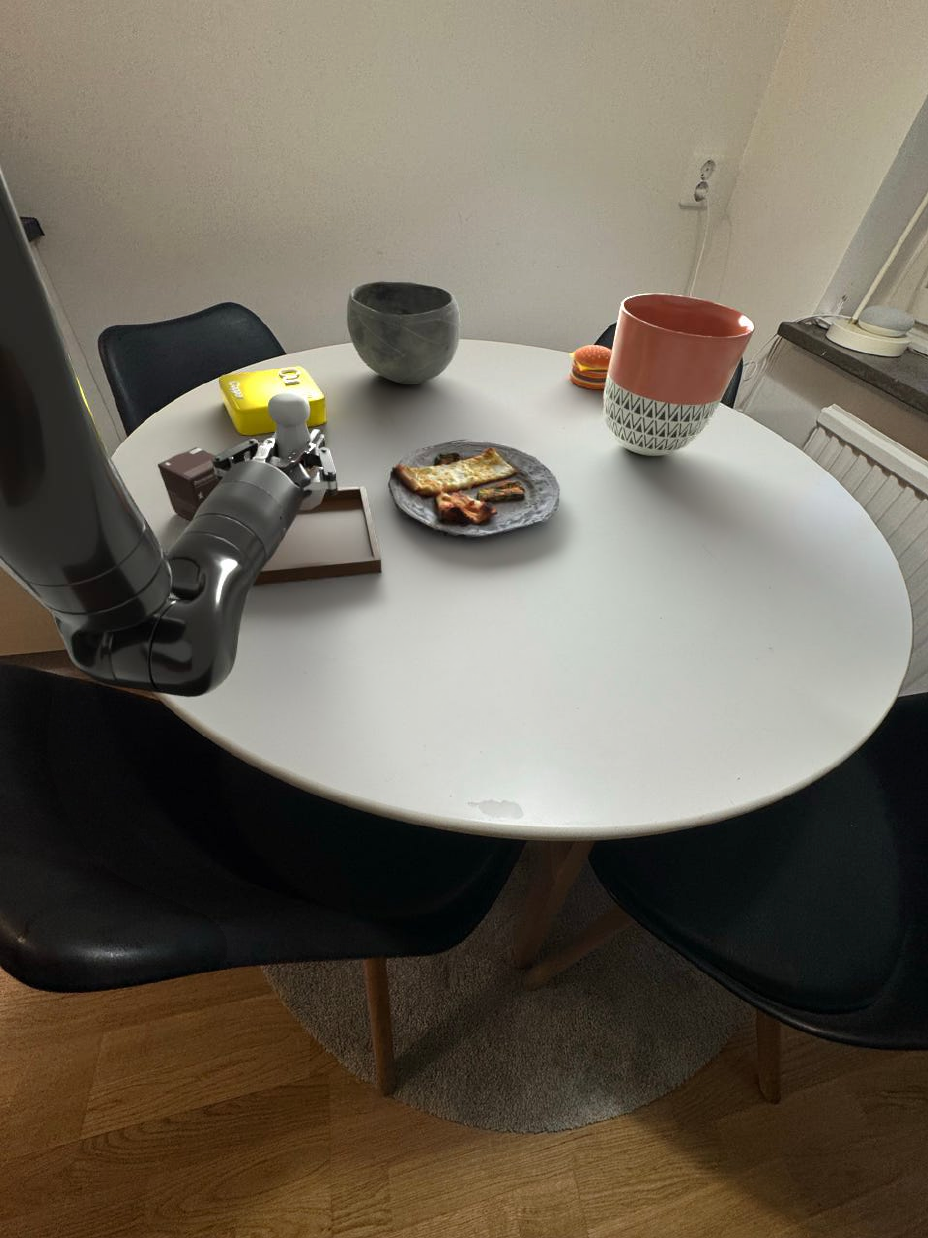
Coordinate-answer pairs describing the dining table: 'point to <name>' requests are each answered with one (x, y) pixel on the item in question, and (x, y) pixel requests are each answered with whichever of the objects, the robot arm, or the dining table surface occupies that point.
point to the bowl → (404, 329)
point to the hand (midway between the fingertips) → (303, 435)
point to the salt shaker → (293, 432)
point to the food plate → (473, 488)
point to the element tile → (267, 397)
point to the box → (188, 480)
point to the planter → (670, 369)
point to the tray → (327, 542)
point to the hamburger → (590, 366)
